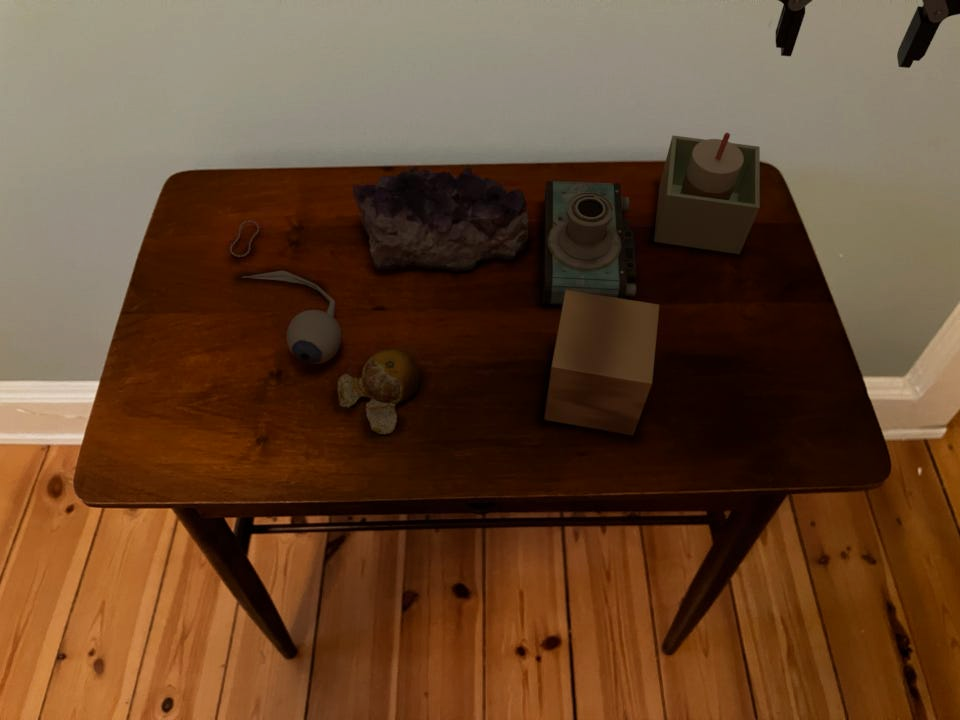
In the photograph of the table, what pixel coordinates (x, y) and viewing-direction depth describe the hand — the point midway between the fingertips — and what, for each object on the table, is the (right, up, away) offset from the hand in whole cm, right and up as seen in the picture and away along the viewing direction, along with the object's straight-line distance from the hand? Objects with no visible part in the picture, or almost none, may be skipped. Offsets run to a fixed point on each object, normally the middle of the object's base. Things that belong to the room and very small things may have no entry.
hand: (843, 56), depth 57 cm
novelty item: (-49, -19, +25) cm, 58 cm away
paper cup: (-1, -6, +33) cm, 33 cm away
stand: (-16, -26, +20) cm, 37 cm away
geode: (-32, -9, +32) cm, 46 cm away
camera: (-15, -11, +30) cm, 36 cm away
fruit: (-39, -27, +20) cm, 51 cm away
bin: (-1, -6, +33) cm, 34 cm away
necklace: (-56, -9, +31) cm, 65 cm away
